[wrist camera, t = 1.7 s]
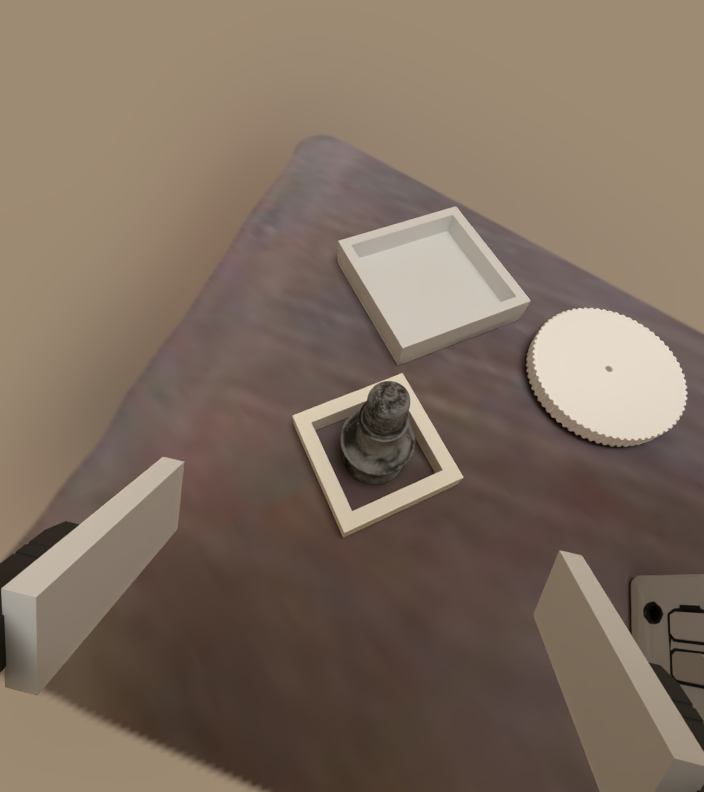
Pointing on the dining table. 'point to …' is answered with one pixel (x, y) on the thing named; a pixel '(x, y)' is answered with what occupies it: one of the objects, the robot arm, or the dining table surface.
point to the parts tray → (429, 283)
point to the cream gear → (606, 377)
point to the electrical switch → (672, 628)
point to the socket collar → (393, 502)
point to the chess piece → (379, 435)
